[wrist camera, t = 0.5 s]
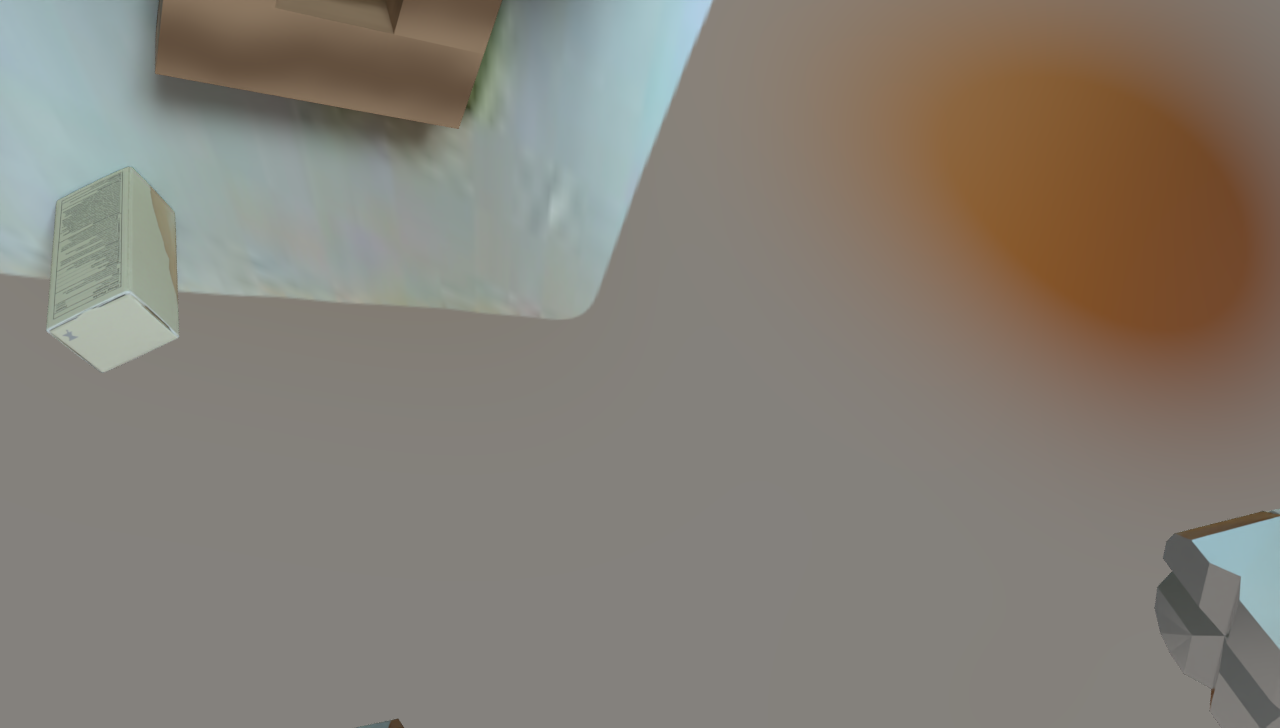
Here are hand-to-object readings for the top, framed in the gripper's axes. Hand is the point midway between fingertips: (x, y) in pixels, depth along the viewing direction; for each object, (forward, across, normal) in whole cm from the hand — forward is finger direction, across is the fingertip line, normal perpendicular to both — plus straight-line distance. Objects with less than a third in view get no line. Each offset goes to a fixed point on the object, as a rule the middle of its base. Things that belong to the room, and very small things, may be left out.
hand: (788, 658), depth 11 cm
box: (+52, +29, +14) cm, 61 cm away
